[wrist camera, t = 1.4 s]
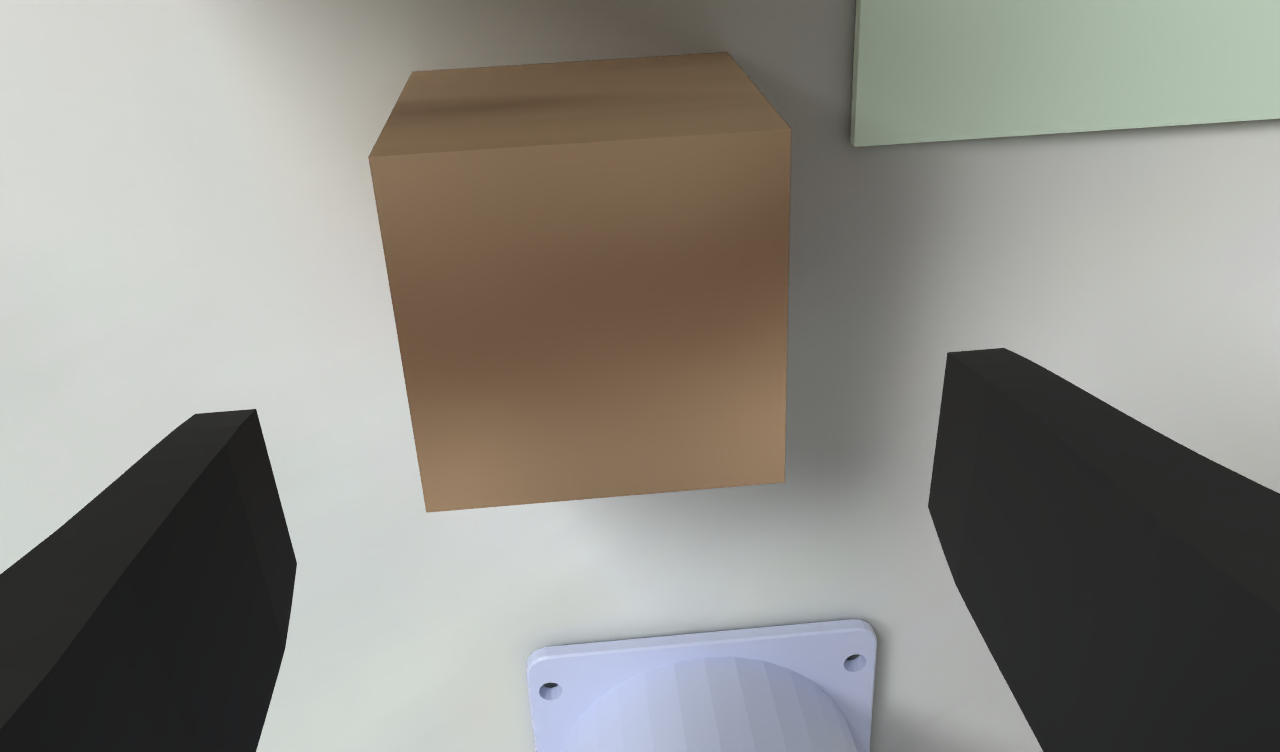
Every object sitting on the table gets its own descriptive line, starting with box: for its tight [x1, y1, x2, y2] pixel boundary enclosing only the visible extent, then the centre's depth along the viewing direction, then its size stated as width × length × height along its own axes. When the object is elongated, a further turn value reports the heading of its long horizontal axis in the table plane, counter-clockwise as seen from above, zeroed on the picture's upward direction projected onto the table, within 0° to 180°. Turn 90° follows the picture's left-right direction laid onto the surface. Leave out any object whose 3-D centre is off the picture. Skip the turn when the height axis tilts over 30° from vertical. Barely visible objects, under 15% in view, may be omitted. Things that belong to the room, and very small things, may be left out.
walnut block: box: [369, 52, 791, 512], centre depth 18 cm, size 6×6×6 cm
